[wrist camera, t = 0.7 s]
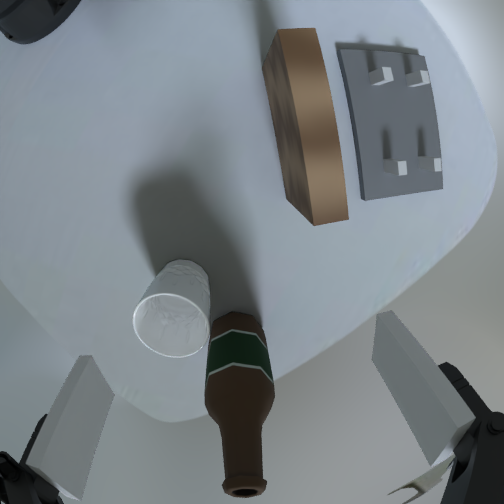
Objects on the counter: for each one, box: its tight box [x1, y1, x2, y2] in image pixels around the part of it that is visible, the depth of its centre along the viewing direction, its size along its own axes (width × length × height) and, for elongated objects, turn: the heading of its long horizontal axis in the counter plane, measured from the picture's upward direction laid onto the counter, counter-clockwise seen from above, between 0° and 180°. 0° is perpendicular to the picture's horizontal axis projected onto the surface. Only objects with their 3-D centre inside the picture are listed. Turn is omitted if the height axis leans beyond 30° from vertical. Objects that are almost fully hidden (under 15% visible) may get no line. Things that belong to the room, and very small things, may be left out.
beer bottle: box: [205, 312, 275, 498], centre depth 28 cm, size 8×8×24 cm
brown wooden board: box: [262, 28, 349, 226], centre depth 25 cm, size 16×4×12 cm, turn 10°
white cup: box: [133, 259, 210, 357], centre depth 32 cm, size 8×8×10 cm
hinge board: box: [337, 49, 443, 201], centre depth 29 cm, size 19×13×5 cm
